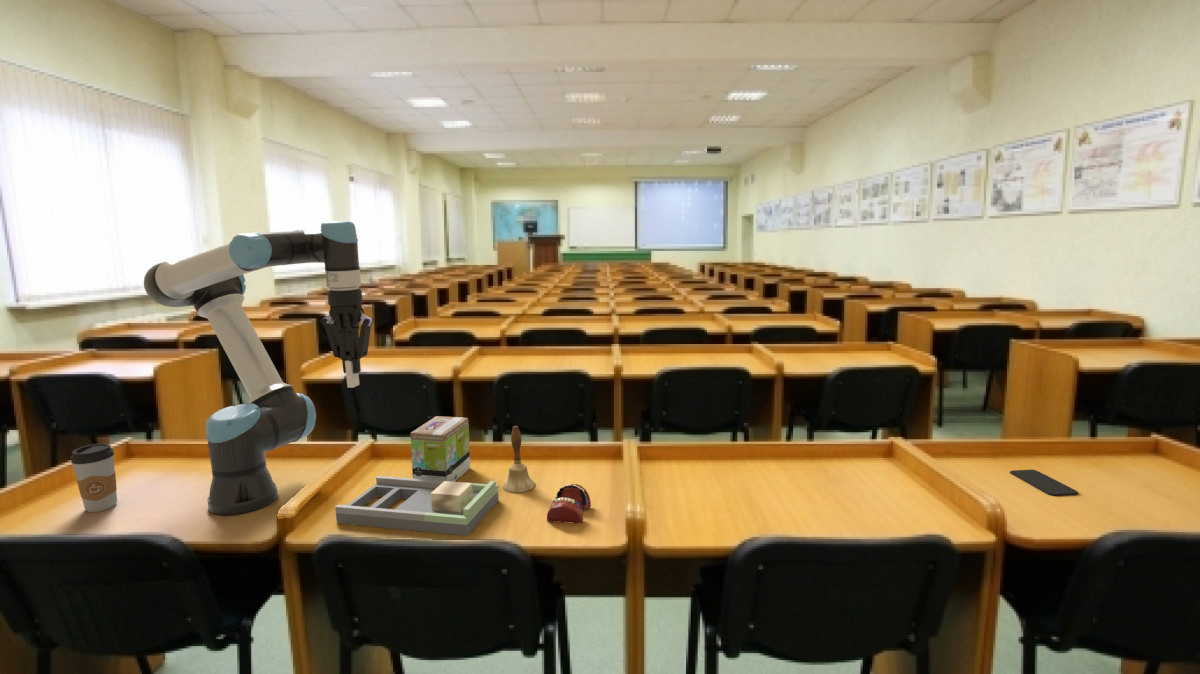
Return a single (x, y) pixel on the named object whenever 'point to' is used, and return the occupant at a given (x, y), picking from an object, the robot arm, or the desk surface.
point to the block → (451, 496)
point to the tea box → (441, 449)
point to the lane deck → (416, 507)
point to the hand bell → (517, 468)
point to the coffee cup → (95, 476)
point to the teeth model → (569, 504)
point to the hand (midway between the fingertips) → (353, 386)
